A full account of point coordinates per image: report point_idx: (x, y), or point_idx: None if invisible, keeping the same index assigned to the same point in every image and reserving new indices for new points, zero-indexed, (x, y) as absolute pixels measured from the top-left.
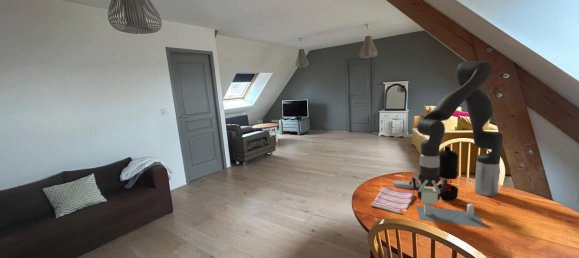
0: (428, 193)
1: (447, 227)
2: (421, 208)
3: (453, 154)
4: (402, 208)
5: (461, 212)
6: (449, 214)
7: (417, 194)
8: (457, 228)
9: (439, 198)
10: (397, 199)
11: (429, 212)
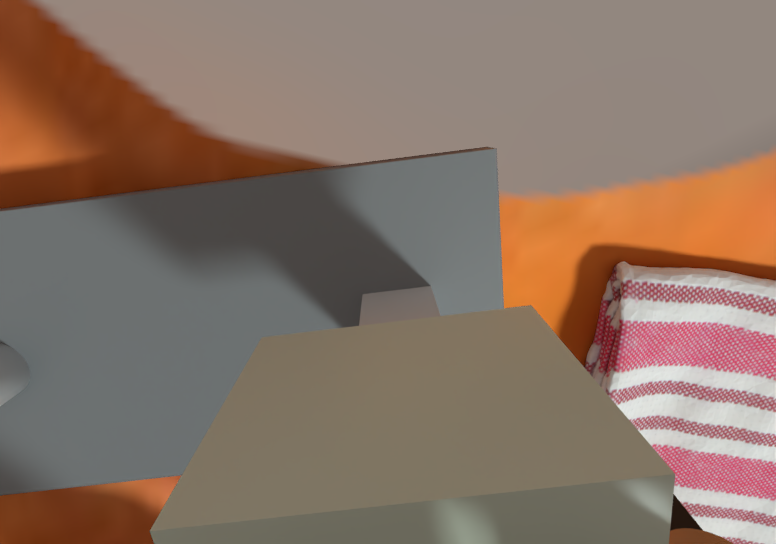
0: (448, 477)
1: (211, 154)
2: None
3: None
4: (657, 354)
5: (81, 454)
6: (185, 378)
7: None
8: (119, 171)
9: None
10: None
11: (384, 305)
